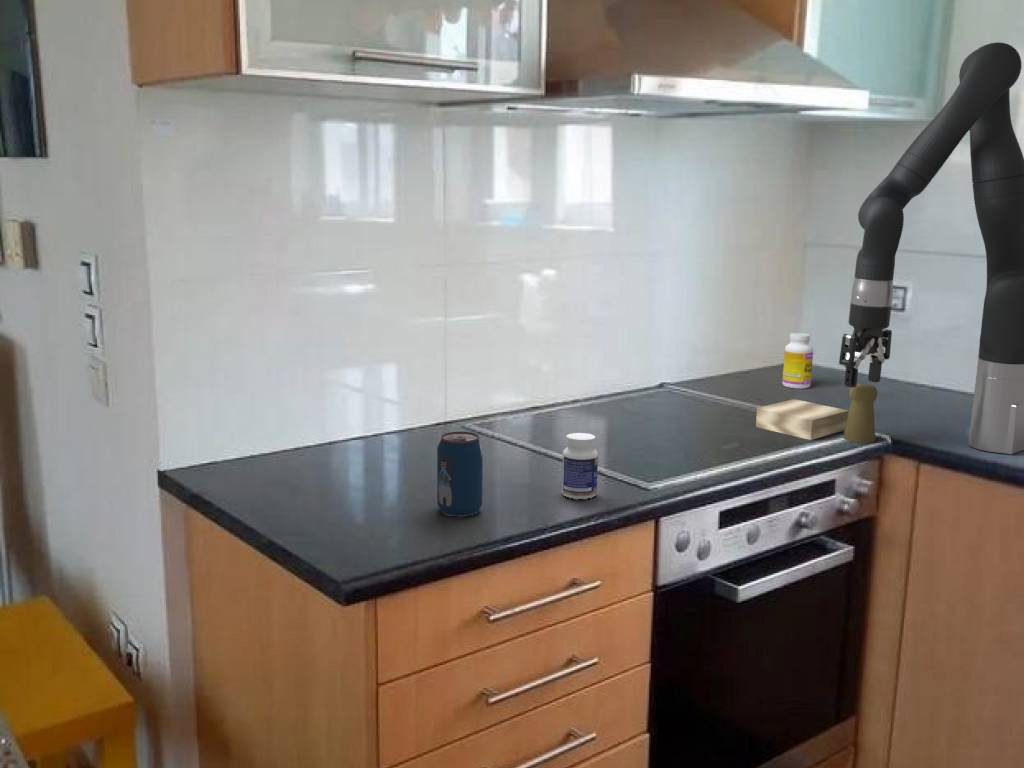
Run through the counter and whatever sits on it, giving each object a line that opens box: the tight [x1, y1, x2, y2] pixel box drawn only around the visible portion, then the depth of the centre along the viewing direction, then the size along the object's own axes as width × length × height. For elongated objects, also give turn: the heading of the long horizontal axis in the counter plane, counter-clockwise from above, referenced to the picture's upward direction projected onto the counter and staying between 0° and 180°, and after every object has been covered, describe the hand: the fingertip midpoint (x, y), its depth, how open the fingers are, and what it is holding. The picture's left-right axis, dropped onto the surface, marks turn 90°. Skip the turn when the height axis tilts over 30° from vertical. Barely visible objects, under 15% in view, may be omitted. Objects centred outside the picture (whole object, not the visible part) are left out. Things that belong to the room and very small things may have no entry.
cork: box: [843, 383, 878, 444], centre depth 204 cm, size 6×6×11 cm
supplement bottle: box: [782, 332, 814, 390], centre depth 251 cm, size 7×7×13 cm
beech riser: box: [755, 398, 849, 441], centre depth 212 cm, size 13×13×4 cm
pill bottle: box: [561, 432, 599, 500], centre depth 168 cm, size 6×6×10 cm
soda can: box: [436, 431, 484, 517], centre depth 159 cm, size 7×7×12 cm
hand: (862, 384), depth 203 cm, fingers open, 8 cm apart
